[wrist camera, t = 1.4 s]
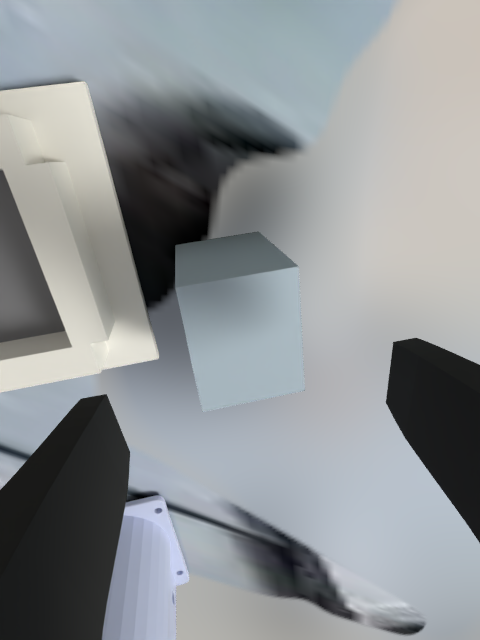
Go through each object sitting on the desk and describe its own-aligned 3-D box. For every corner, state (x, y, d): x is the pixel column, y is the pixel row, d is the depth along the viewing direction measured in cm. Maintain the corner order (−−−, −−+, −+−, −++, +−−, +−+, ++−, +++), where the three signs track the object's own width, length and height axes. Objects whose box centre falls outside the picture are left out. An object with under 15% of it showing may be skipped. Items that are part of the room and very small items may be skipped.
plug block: (267, 324, 19) (304, 390, 13) (194, 337, 18) (202, 412, 13) (258, 231, 17) (298, 266, 11) (175, 245, 16) (175, 287, 11)
